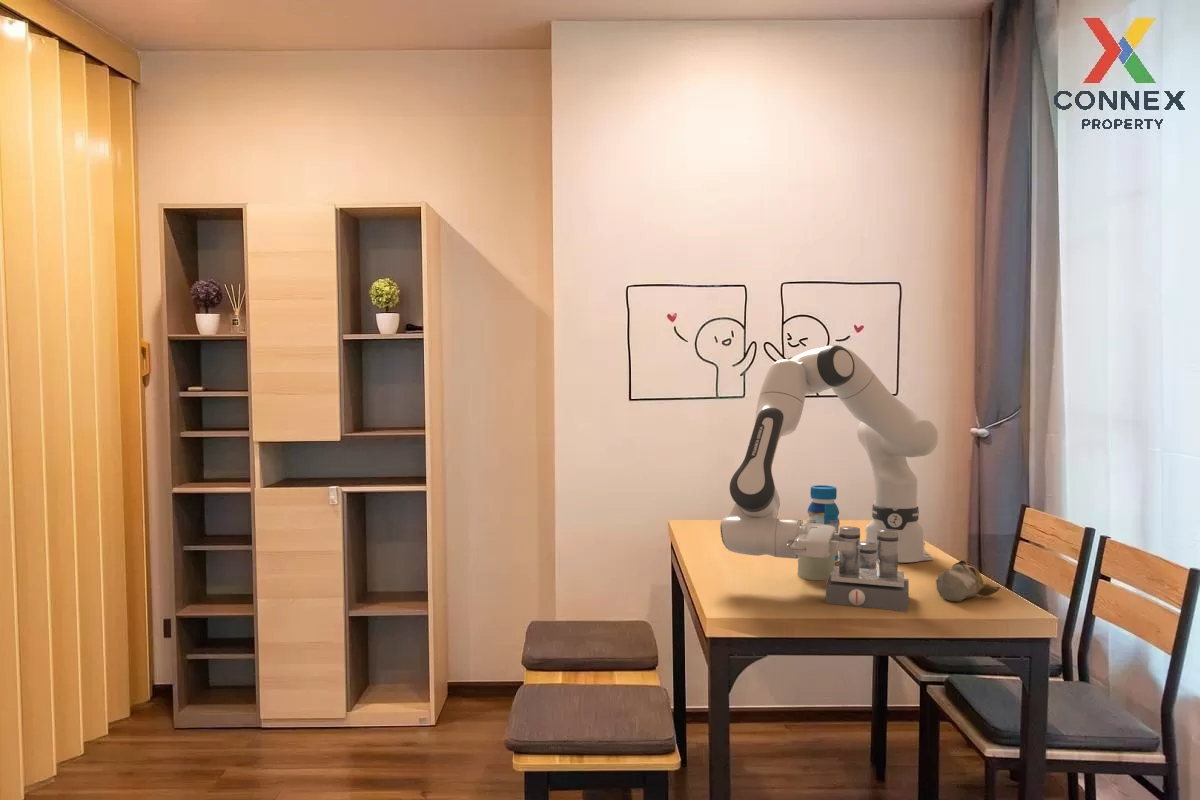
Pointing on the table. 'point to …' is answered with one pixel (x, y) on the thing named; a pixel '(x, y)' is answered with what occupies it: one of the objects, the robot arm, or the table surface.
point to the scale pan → (868, 578)
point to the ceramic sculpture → (962, 583)
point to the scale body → (868, 595)
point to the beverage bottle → (824, 508)
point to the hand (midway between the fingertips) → (853, 543)
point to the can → (816, 567)
